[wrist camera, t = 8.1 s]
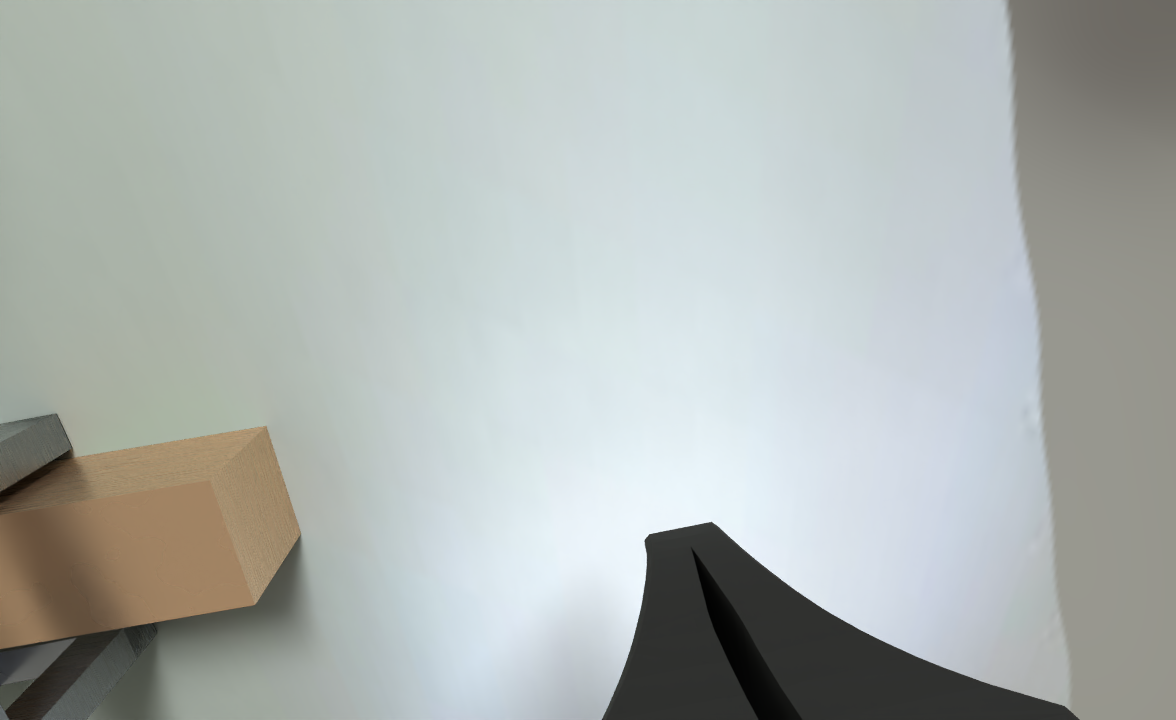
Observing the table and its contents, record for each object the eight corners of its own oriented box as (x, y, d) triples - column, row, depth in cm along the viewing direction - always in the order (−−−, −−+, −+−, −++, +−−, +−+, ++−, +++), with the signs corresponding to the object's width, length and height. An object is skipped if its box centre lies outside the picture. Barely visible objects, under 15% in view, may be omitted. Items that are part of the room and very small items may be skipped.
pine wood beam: (303, 529, 22) (255, 605, 18) (-110, 599, 22) (-247, 691, 18) (269, 422, 21) (209, 479, 17) (-169, 494, 21) (-330, 570, 17)
